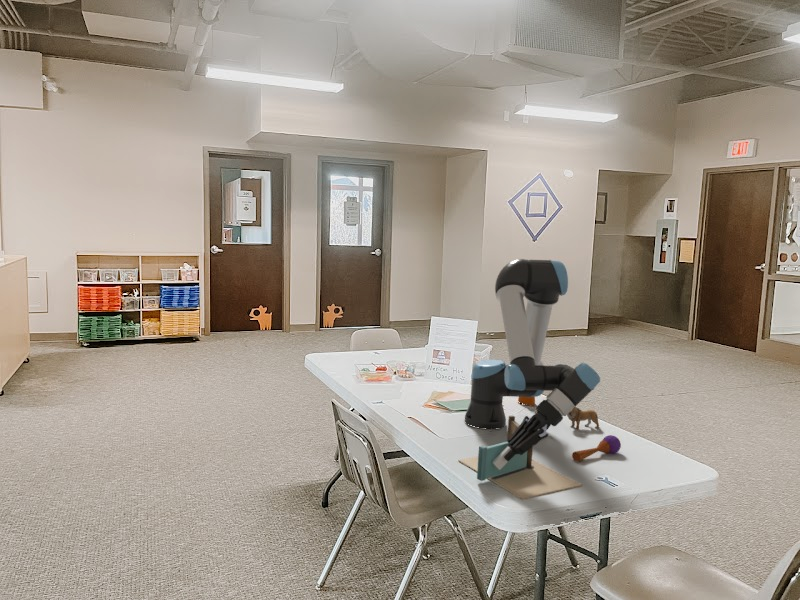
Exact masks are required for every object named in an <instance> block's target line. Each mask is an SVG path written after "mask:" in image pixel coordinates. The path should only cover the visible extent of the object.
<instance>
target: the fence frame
mask: <svg viewBox="0 0 800 600" xmlns="http://www.w3.org/2000/svg"><path fill="white" fill-rule="evenodd" d="M507 422H508V423H507V437H506V438H507V439H506V441H507V440H508V439H509V438H510V437H511V435H512V434H513V433H514V432H515V430H516V429H517V428H518V427H519V425H520V423H518V422H517V421H516V416H514V415H508V421H507ZM533 449H534V446H533V447H531V448H530V449H529V450H528V451H527V464H526V467H527V468H531V464H532V460H533Z"/></svg>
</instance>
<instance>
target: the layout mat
mask: <svg viewBox="0 0 800 600" xmlns="http://www.w3.org/2000/svg"><path fill="white" fill-rule="evenodd" d="M457 461H458V462H459V461H460V462H459V463H460V464H462V463H463V464H462V465H464V464H465V465H464V466H465V467H467V466H468V467H467V468H469V467H470V468H469V469H471V470H472V469H473V471H474V470H475V471H474V472H476V473H477V470H478V456H473V457H466V458H460V459H458V460H457ZM487 480H489V481H491V482H492V481H493V482H492V483H494V484H496V485H497V486H499V487H501V488H502V489H504V490H506V491H508V492H509V493H511V494H513V495H514V496H515V497H518V498H519V499H520V500H525V499H529V498H530V499H531V498H534V497H538V496H542V495H547V494H552V493H556V492H561V491H566V490H570V489H574V488H578V487H582V486H583V484H582V483H579V482H577V481H576V480H574V479H571V478H569V477H567V476H566V475H564V474H562V473H560V472H557V471H556V470H554V469H552V468H550V467H548V466H546V465H544V464H542V463H540V462H538V461H536V460H534V459H532V464H531V468H527V467H523V468H520V469H517V470H514V471H511V472H507V473H504V474H501V475H498V476H494V477H491V478H488V479H487Z"/></svg>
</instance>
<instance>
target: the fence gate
mask: <svg viewBox="0 0 800 600" xmlns="http://www.w3.org/2000/svg"><path fill="white" fill-rule="evenodd" d="M507 447H508V442H507V441H503V442H499V443H497V444H492V445H489V446H485V445H479V446H478V470H477V472H476V473H477V475H476V479H477V480H479V481H480V482H483V481H485V480H489V479H488V478H491V477H494V476H498V475H501V474H504V473H507V472H511V471H514V470H517V469H520V468H523V467H526V464H527V451H526V452H525V453H524V454H522V455H520V454H516V455H514V456H513V457H512V458H511V459H510V460H509V461H508V462H507V463H506V464H505V465H504V466H503V467H502V468H501V469H500V470H499V469H498V468H497V467H496V466H495V465H494V464H493V463H492V461H493V460H494V459H495V458H496V457H497V456H498V455H499V454H500V453H501V452H503V451H504V450H505V449H506V448H507Z"/></svg>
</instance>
